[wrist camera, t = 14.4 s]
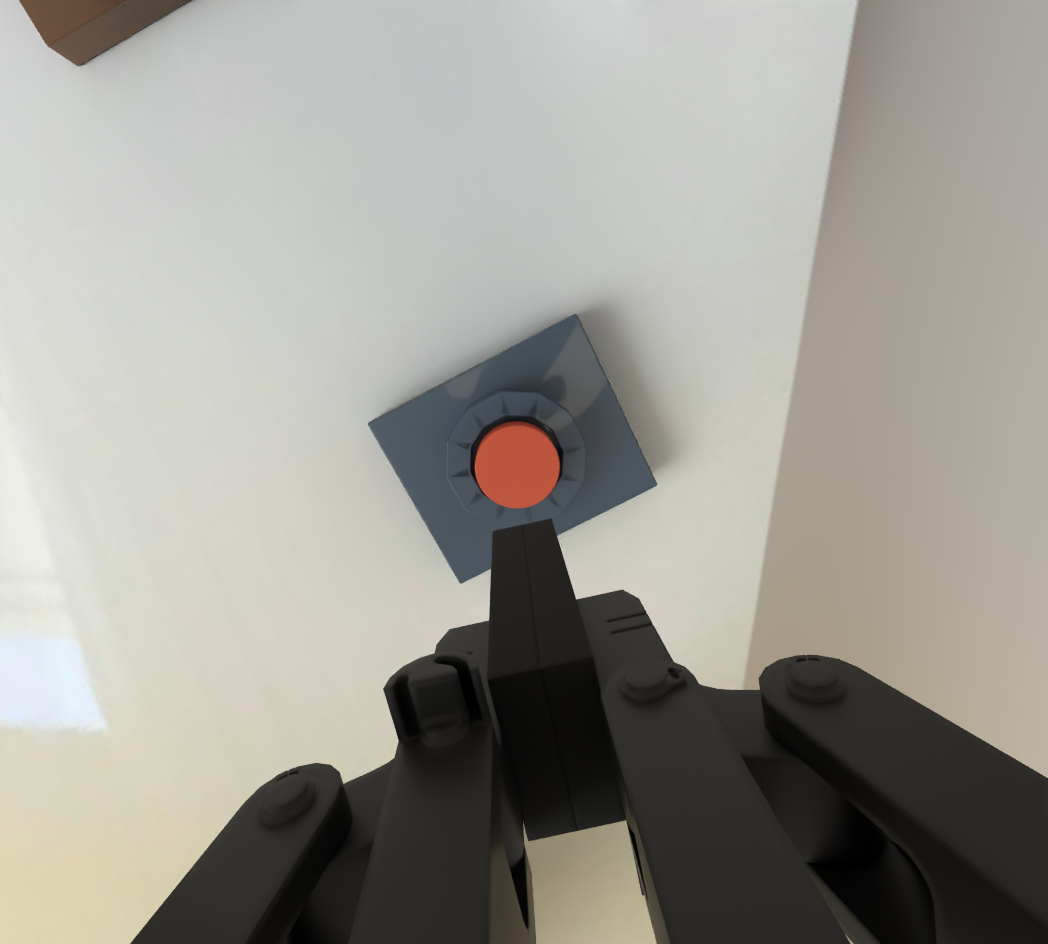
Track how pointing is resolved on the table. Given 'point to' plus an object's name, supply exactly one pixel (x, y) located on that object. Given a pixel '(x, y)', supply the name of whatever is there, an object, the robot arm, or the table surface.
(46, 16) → the panel
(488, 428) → the button block
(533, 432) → the button
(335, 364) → the table surface
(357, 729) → the table surface
